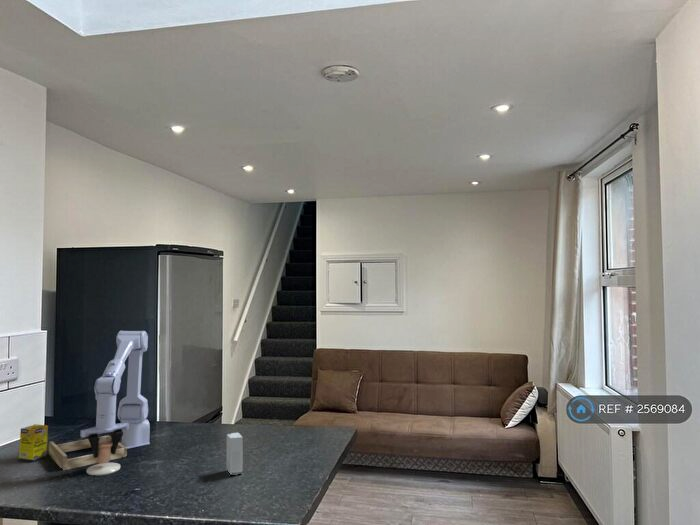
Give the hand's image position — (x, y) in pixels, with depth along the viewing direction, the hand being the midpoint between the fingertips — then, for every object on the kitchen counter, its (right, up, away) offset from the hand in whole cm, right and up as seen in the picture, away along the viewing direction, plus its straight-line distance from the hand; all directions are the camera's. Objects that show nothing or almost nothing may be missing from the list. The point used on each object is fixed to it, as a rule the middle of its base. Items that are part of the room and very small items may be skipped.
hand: (104, 455), depth 161 cm
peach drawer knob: (-1, -2, 0) cm, 2 cm away
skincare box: (+43, -6, -1) cm, 43 cm away
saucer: (0, -5, 0) cm, 5 cm away
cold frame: (-12, -5, +13) cm, 19 cm away
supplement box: (-30, -5, +9) cm, 31 cm away
